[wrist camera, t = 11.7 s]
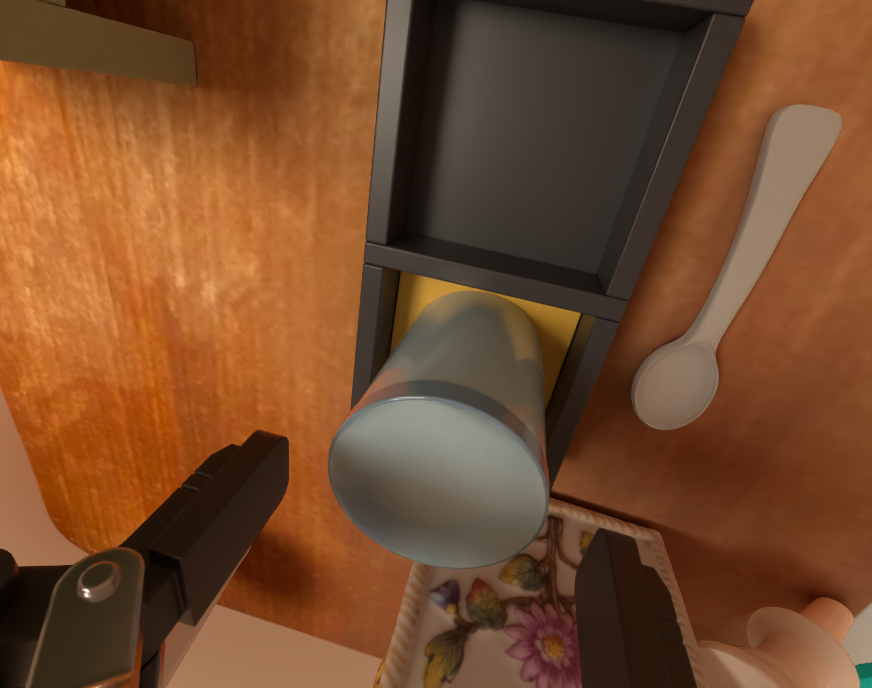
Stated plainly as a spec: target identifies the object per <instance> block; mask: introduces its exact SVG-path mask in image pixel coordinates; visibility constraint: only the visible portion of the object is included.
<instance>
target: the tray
mask: <svg viewBox="0 0 872 688" xmlns="http://www.w3.org/2000/svg"><path fill="white" fill-rule="evenodd" d="M753 1H754V0H387V1H386V12H385V23H384V35H383V46H382V57H381V69H380V80H379V91H378V103H377V114H376V125H375V137H374V148H373V159H372V171H371V182H370V194H369V205H368V216H367V228H366V240H367V241H366V242H365V251H364V262H365V263H364V264H363V274H362V285H361V297H360V308H359V319H358V331H357V342H356V353H355V365H354V376H353V387H352V399H351V410H350V412H351V411H352V409H353V408H354V407H355V406H356V405H357V404H358V402H359V401H360V399H361V398H362V396H363V395H364V393H365V392H366V390H367V389H368V387H369V386H370V384H371V383H372V381H373V380H374V378H375V377H376V375H377V374H378V372H379V371H380V369H381V368H382V366H383V365H384V363H385V362H386V360H387V359H388V357H389V356H390V354H391V353H392V352H393V350H394V349H395V347H396V346H397V344H398V343H399V341H400V340H401V338H402V337H403V335H404V334H405V332H406V331H407V329H408V328H409V326H410V325H411V323H412V322H413V320H414V319H415V317H416V316H417V315H418V313H419V312H420V311H421V310H422V309H423V308H424V307H425V306H426V305H428V304H429V303H431V302H432V301H433V300H435V299H437V298H439V297H441V296H444V295H447V294H450V293H454V292H459V291H480V292H486V293H490V294H494V295H497V296H499V297H502V298H504V299H506V300H508V301H509V302H511V303H513V304H514V305H516V306H517V307H518V308H519V309H521V310H522V311H523V312H524V313H525V314H526V315H527V316H528V317H529V318H530V320H531V321H532V323H533V324H534V325H535V327H536V329H537V331H538V333H539V335H540V338H541V341H542V346H543V352H544V383H545V420H546V456H547V467H548V471H549V493H550V491H551V489H552V487H553V484H554V481H555V479H556V477H557V474H558V472H559V469H560V467H561V465H562V462H563V460H564V457H565V455H566V453H567V450H568V448H569V445H570V443H571V440H572V438H573V436H574V433H575V431H576V428H577V426H578V424H579V421H580V419H581V416H582V414H583V411H584V409H585V407H586V404H587V402H588V399H589V397H590V395H591V392H592V390H593V387H594V385H595V383H596V380H597V378H598V375H599V373H600V370H601V368H602V366H603V363H604V361H605V358H606V356H607V354H608V351H609V349H610V346H611V344H612V342H613V339H614V337H615V334H616V332H617V329H618V327H619V322H620V321H621V320H622V317H623V315H624V312H625V310H626V307H627V305H628V300H630V298H631V296H632V293H633V291H634V289H635V286H636V284H637V281H638V279H639V277H640V274H641V272H642V269H643V267H644V264H645V262H646V260H647V257H648V255H649V252H650V250H651V248H652V245H653V243H654V240H655V238H656V236H657V233H658V231H659V228H660V226H661V223H662V221H663V219H664V216H665V214H666V211H667V209H668V207H669V204H670V202H671V199H672V197H673V195H674V192H675V190H676V187H677V185H678V182H679V180H680V178H681V175H682V173H683V170H684V168H685V166H686V163H687V161H688V158H689V156H690V154H691V151H692V149H693V146H694V144H695V141H696V139H697V137H698V134H699V132H700V129H701V127H702V125H703V122H704V120H705V117H706V115H707V113H708V110H709V108H710V105H711V103H712V100H713V98H714V96H715V93H716V91H717V88H718V86H719V84H720V81H721V79H722V76H723V74H724V72H725V69H726V67H727V64H728V62H729V59H730V57H731V55H732V52H733V50H734V47H735V45H736V43H737V40H738V38H739V35H740V33H741V30H742V28H743V26H744V23H745V19H746V18H744V17H746V16H747V15H748V14H749V11H750V9H751V6H752V4H753Z"/></svg>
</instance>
